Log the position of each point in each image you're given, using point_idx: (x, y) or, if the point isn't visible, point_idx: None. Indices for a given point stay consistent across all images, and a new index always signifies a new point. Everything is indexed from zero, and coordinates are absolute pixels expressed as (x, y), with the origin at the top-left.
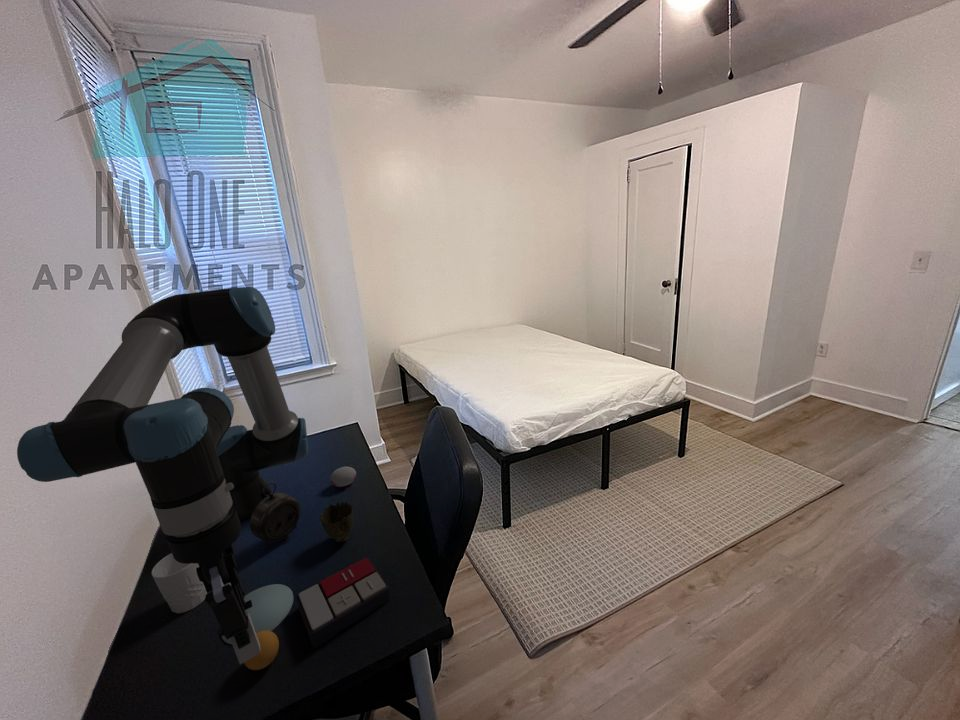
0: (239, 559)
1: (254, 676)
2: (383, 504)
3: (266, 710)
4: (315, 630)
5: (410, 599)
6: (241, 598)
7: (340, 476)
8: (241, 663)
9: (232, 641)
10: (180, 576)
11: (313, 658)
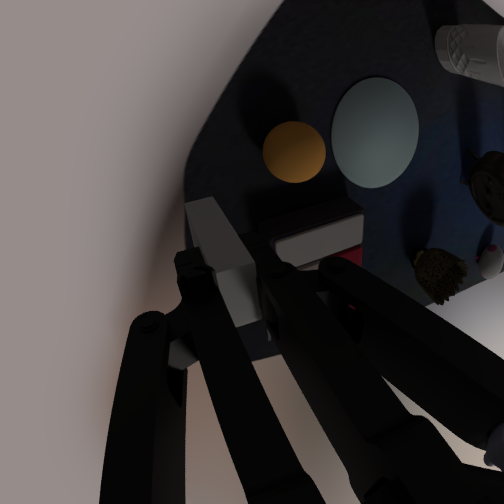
0: (472, 115)
1: (263, 129)
2: (424, 304)
3: (188, 155)
4: (273, 245)
5: (257, 344)
6: (287, 362)
7: (493, 264)
8: (185, 207)
9: (201, 244)
10: (489, 55)
11: (240, 222)
